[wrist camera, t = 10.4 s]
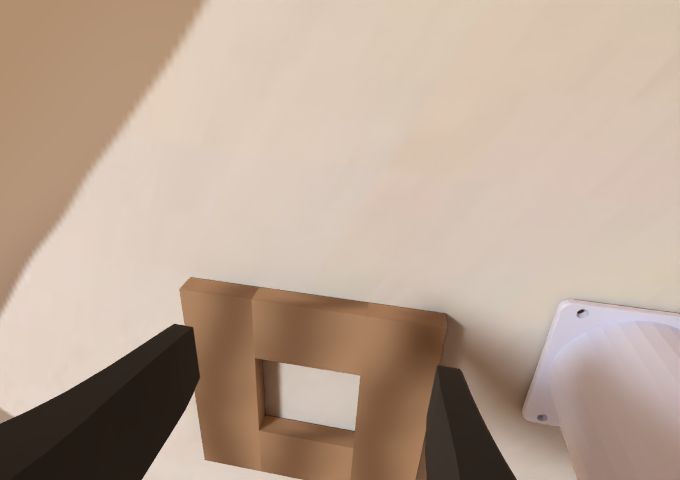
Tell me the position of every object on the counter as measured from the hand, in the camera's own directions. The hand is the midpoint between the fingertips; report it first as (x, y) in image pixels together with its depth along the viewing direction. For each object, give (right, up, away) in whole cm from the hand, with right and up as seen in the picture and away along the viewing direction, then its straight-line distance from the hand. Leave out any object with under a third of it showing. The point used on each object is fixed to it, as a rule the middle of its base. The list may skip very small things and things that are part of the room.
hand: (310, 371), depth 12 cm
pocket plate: (-1, -5, +14) cm, 15 cm away
